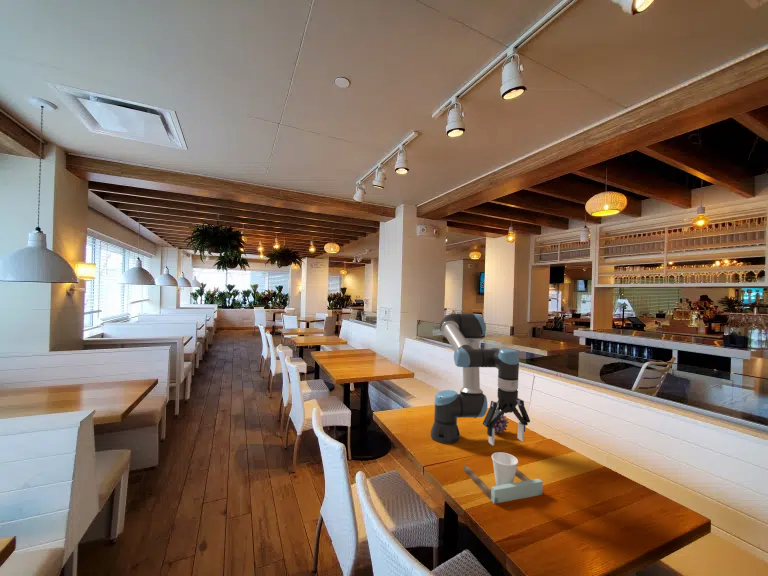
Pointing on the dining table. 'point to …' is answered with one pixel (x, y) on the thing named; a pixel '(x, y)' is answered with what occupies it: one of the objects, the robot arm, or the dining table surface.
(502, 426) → the flower
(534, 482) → the block
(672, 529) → the dining table surface
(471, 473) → the channel
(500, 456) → the cup
